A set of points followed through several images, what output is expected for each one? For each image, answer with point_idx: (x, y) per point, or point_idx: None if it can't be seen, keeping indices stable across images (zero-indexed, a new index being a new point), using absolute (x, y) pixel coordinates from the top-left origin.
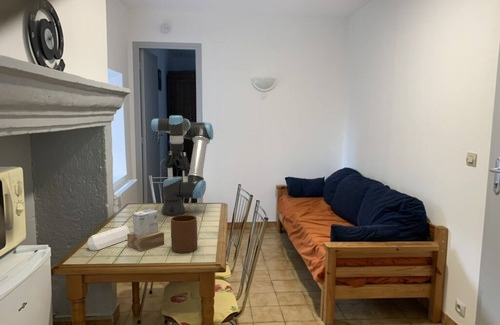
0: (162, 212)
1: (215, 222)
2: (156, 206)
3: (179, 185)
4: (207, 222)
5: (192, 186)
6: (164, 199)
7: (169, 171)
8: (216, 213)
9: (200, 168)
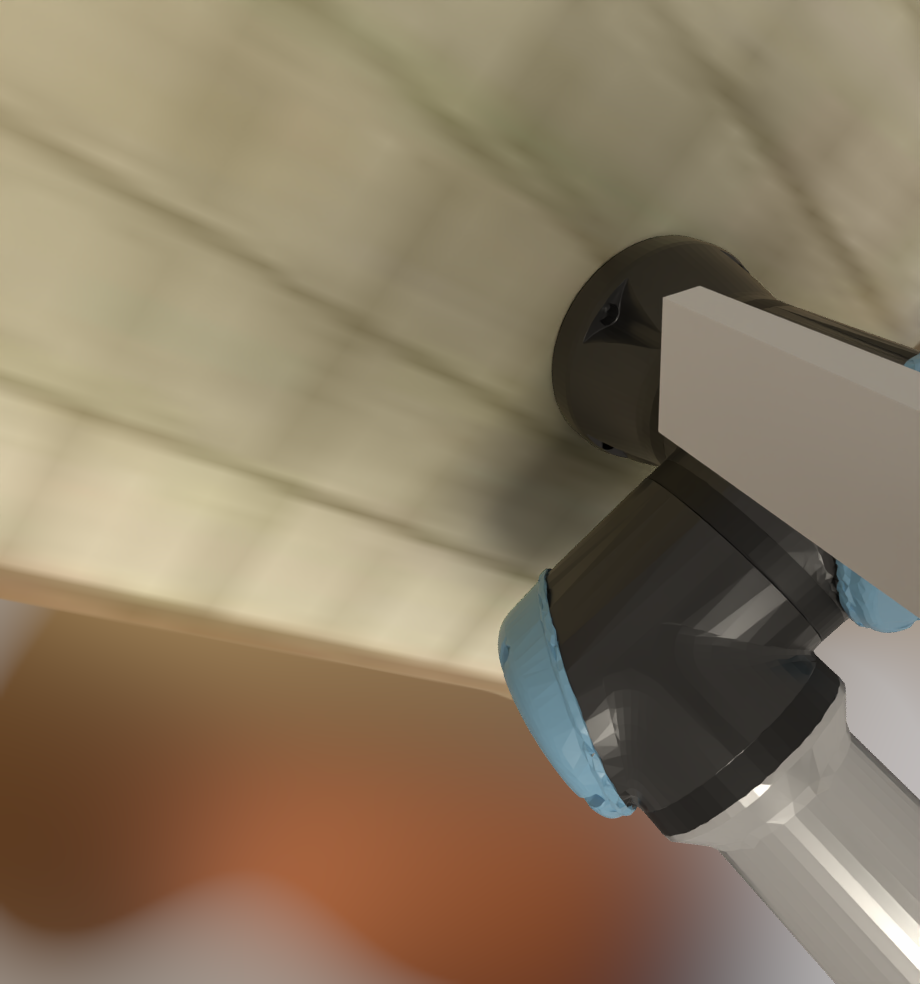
0: (685, 239)
1: (153, 568)
2: (886, 298)
3: (752, 532)
4: (191, 509)
5: (603, 657)
6: (779, 304)
7: (895, 447)
8: (409, 632)
9: (798, 930)
